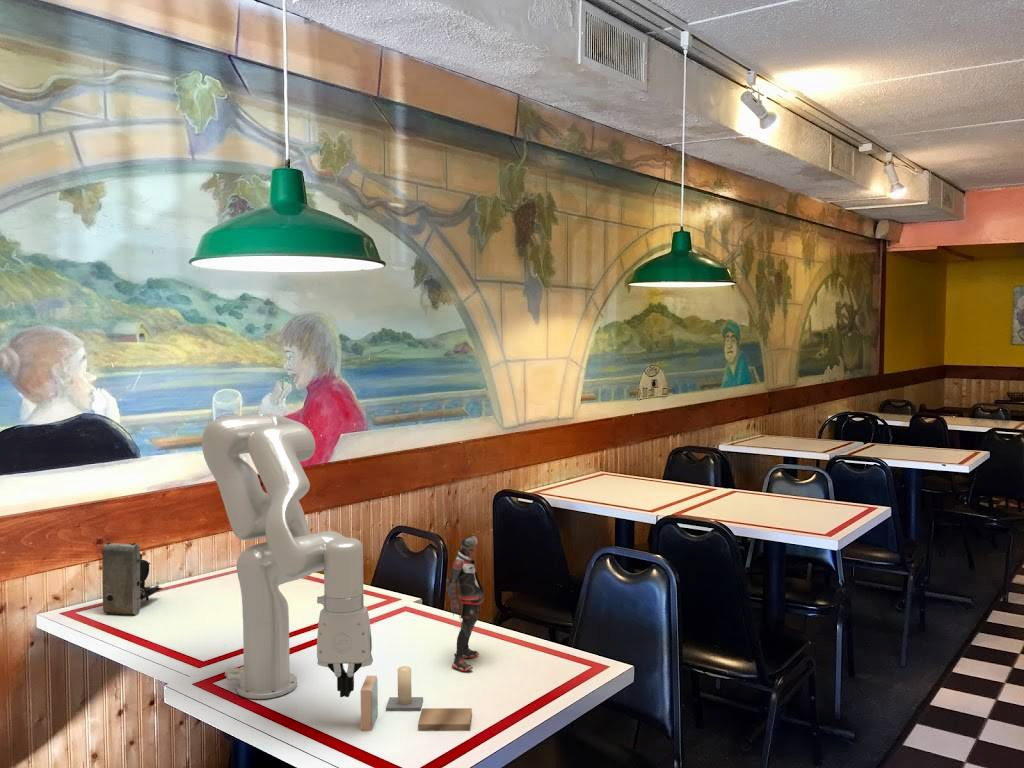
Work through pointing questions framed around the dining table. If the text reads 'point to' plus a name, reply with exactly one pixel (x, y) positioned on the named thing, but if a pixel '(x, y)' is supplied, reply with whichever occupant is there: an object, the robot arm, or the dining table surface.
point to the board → (445, 719)
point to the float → (404, 694)
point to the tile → (369, 703)
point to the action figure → (465, 600)
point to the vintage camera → (124, 579)
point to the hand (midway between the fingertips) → (345, 694)
